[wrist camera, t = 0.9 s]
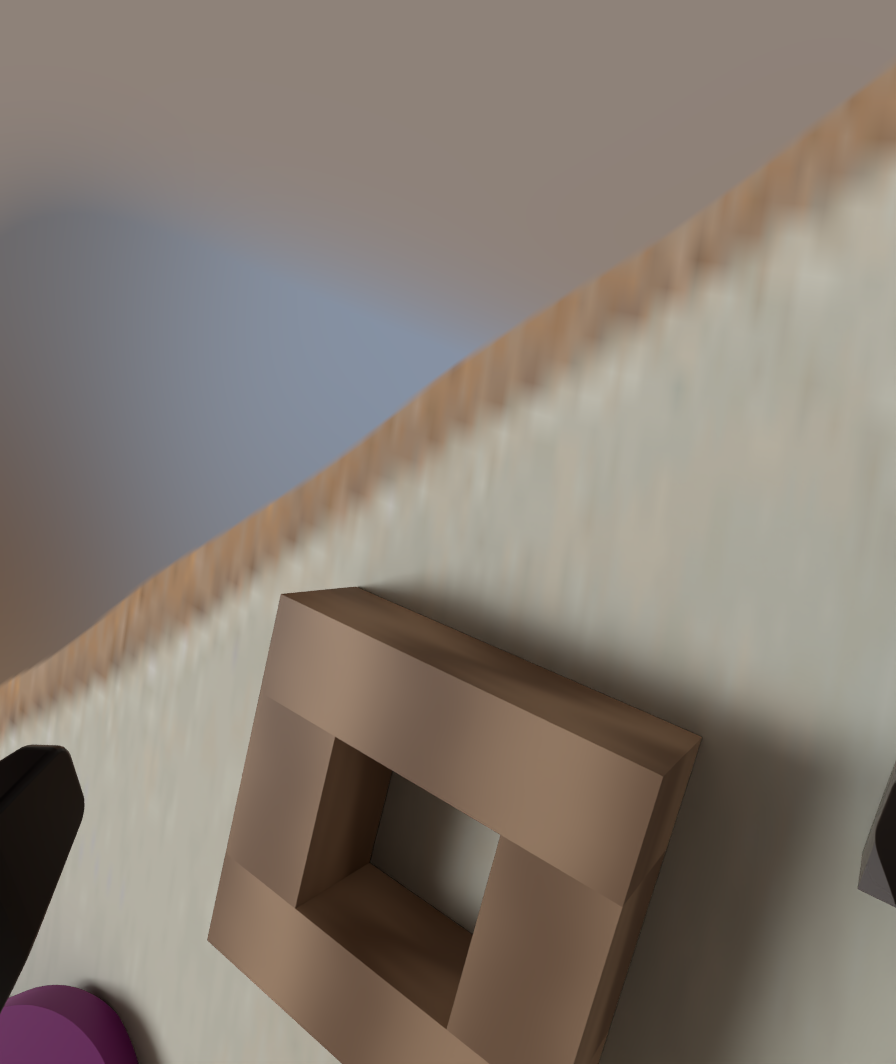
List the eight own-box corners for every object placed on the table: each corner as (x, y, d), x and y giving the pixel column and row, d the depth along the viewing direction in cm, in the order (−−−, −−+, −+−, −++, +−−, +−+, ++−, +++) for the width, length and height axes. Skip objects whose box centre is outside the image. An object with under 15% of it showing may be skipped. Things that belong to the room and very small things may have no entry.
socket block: (702, 736, 18) (663, 776, 15) (578, 1126, 20) (521, 1228, 17) (355, 586, 24) (280, 594, 22) (285, 894, 26) (207, 939, 23)
